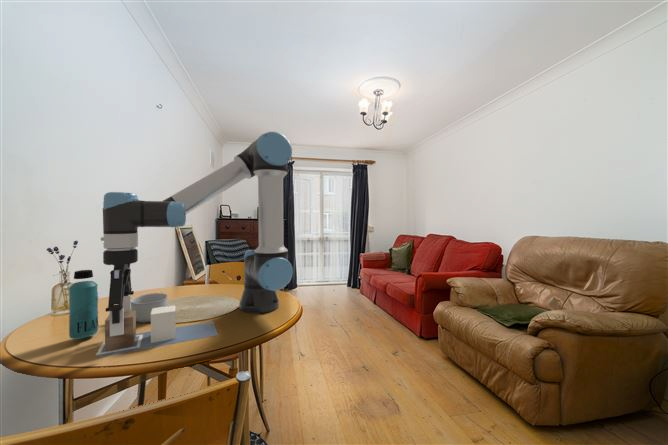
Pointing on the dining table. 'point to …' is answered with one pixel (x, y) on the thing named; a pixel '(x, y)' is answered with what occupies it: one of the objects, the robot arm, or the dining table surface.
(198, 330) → the plan sheet
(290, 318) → the dining table surface
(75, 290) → the beverage bottle
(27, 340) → the dining table surface
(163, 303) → the teacup
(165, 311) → the cream block
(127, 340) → the walnut block
